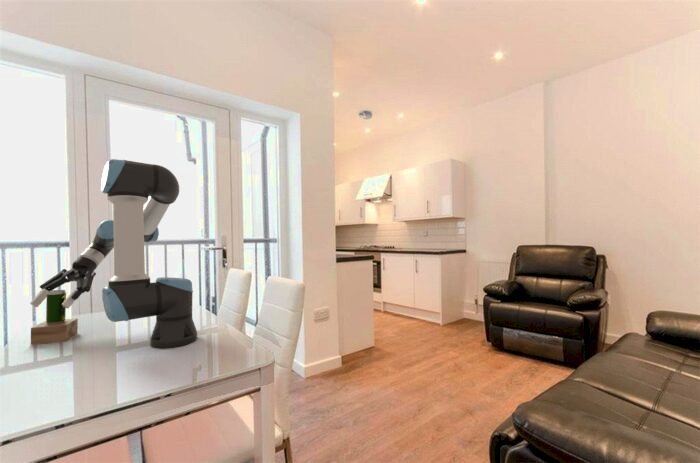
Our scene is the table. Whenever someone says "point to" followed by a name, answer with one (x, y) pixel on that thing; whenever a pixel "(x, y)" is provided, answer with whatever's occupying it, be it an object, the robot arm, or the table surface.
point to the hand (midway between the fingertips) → (49, 305)
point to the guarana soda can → (55, 307)
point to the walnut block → (54, 332)
